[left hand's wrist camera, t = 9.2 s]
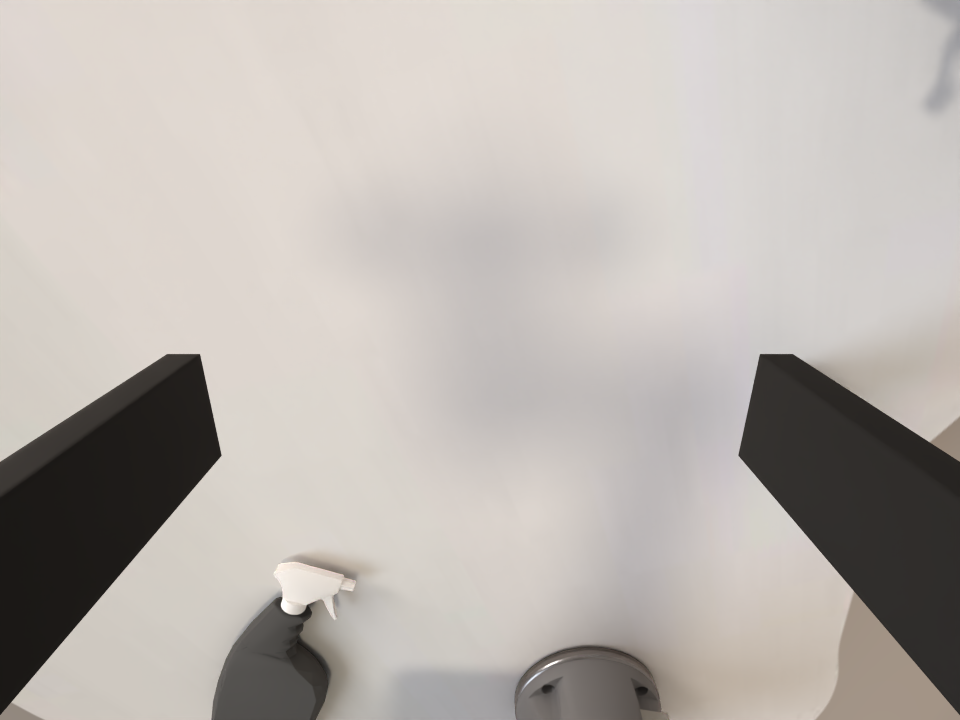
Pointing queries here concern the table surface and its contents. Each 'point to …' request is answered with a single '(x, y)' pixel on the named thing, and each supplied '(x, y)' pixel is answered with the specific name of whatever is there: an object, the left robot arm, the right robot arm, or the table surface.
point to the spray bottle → (279, 653)
